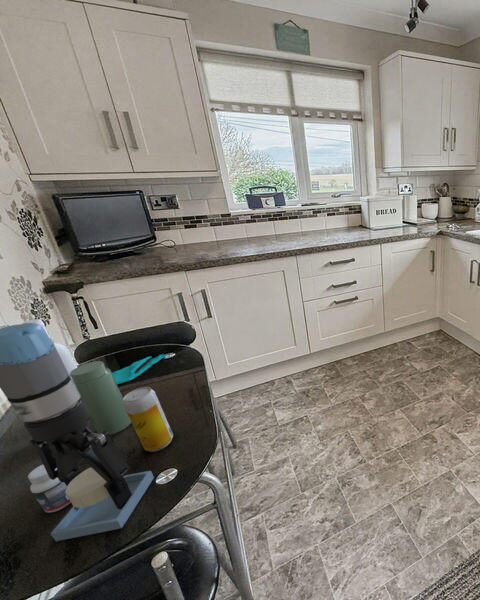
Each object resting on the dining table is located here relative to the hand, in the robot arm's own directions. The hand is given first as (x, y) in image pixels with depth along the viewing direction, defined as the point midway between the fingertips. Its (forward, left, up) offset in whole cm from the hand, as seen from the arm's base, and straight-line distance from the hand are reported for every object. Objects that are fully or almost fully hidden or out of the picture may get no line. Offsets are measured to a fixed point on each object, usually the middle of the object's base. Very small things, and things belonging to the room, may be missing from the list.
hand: (106, 501), depth 65 cm
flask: (-15, +27, -1) cm, 31 cm away
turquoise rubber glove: (-29, +56, -2) cm, 63 cm away
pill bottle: (-11, +4, -2) cm, 12 cm away
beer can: (+1, +17, -2) cm, 17 cm away
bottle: (-29, +35, -2) cm, 46 cm away
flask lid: (0, 0, +6) cm, 6 cm away
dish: (0, 0, -1) cm, 1 cm away
